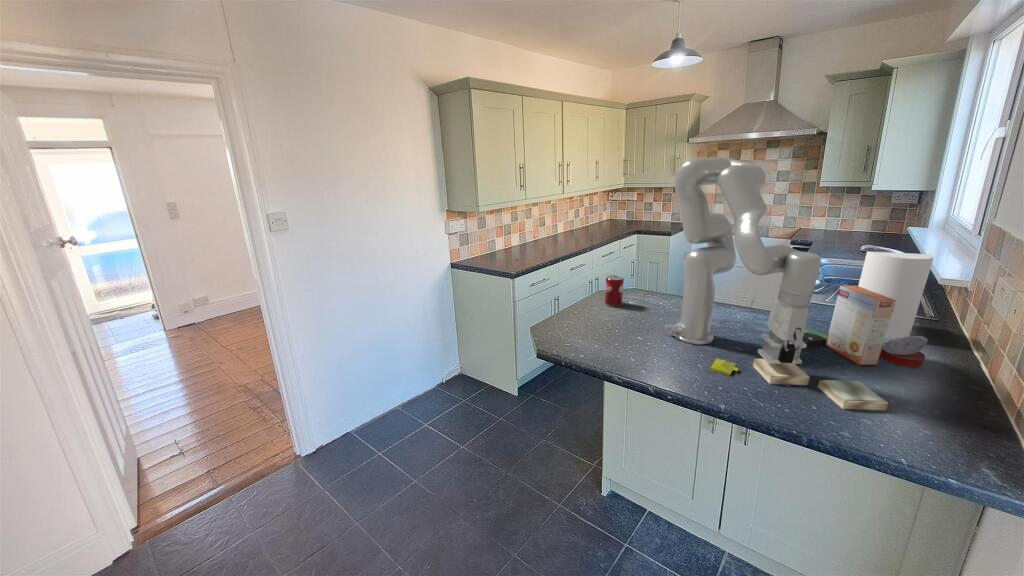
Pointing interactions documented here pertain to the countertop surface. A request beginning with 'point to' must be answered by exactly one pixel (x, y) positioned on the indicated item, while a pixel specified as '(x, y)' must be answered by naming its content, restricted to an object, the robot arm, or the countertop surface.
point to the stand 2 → (852, 395)
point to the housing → (776, 349)
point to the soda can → (614, 291)
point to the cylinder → (897, 285)
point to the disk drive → (814, 337)
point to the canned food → (904, 351)
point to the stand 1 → (781, 373)
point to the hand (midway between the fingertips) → (779, 355)
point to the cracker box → (860, 324)
